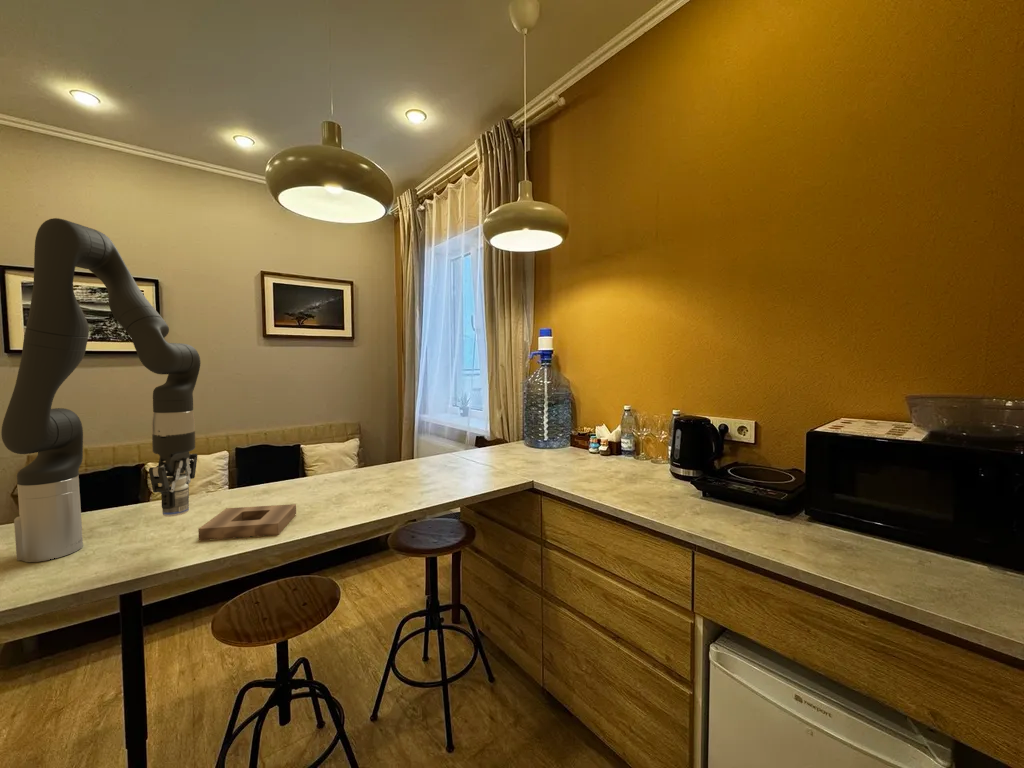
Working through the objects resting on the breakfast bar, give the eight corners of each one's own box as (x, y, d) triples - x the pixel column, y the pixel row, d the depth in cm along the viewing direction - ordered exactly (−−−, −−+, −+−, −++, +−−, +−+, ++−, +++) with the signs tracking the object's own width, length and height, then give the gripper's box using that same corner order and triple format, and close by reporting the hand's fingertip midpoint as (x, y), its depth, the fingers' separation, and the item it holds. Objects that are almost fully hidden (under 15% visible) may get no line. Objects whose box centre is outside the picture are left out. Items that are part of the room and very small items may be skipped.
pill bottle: (161, 512, 93) (160, 476, 93) (187, 507, 96) (187, 473, 96) (163, 518, 90) (162, 481, 89) (190, 513, 93) (189, 477, 93)
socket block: (198, 540, 100) (198, 528, 100) (226, 518, 113) (226, 508, 113) (278, 534, 103) (278, 523, 103) (296, 514, 117) (295, 504, 117)
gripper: (174, 425, 98) (176, 494, 99) (132, 436, 84) (134, 516, 85) (209, 425, 100) (210, 493, 101) (173, 436, 86) (175, 515, 87)
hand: (175, 503), depth 93 cm, fingers closed on pill bottle, 4 cm apart
